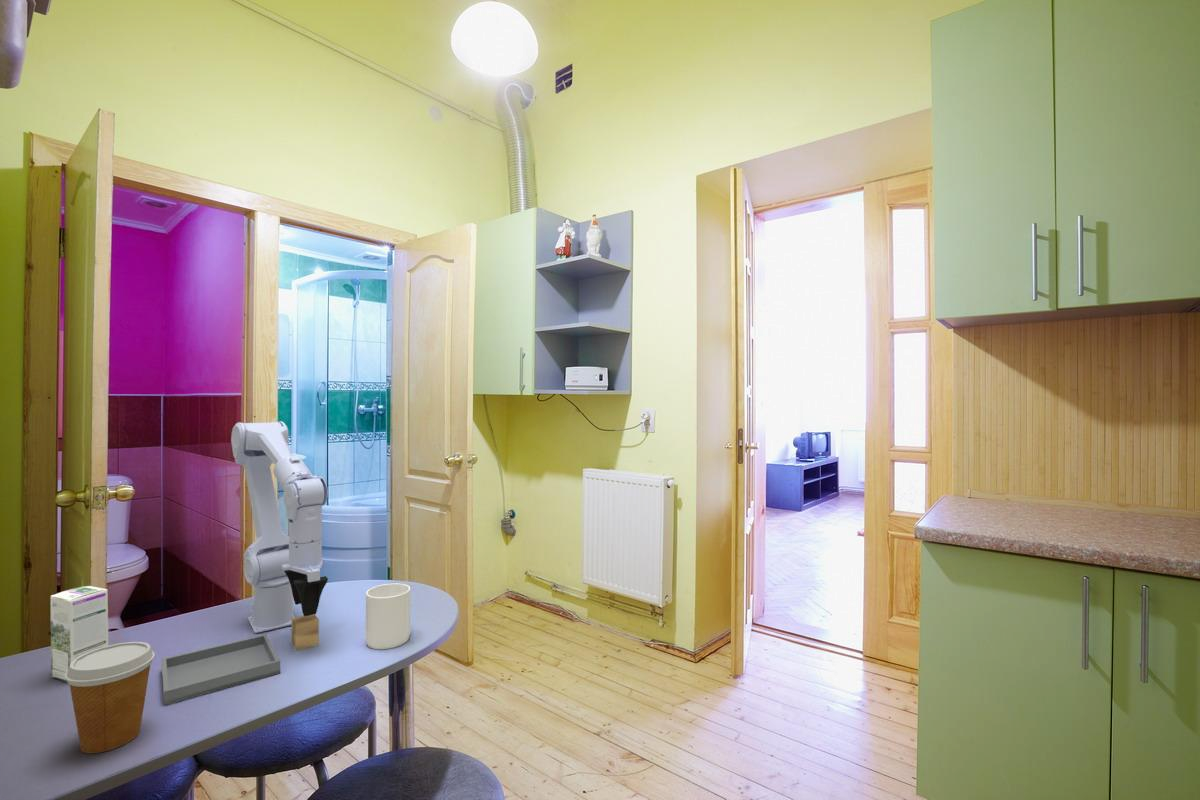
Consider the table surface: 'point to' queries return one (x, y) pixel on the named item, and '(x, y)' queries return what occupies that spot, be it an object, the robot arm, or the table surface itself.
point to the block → (305, 631)
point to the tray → (217, 668)
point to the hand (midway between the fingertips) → (305, 608)
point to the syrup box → (77, 625)
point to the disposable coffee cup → (109, 694)
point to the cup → (387, 615)
